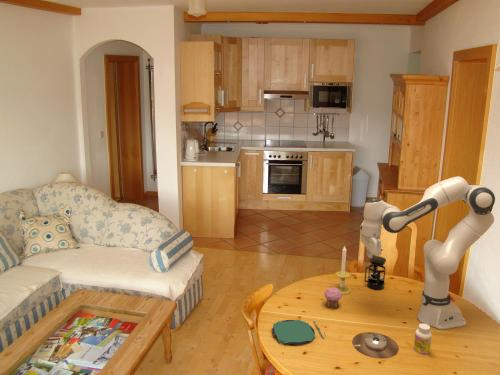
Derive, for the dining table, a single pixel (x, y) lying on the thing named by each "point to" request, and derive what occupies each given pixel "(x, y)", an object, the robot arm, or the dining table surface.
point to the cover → (375, 342)
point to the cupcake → (333, 297)
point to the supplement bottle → (422, 339)
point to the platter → (361, 347)
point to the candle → (343, 275)
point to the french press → (376, 273)
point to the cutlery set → (294, 331)
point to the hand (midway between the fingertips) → (369, 257)
